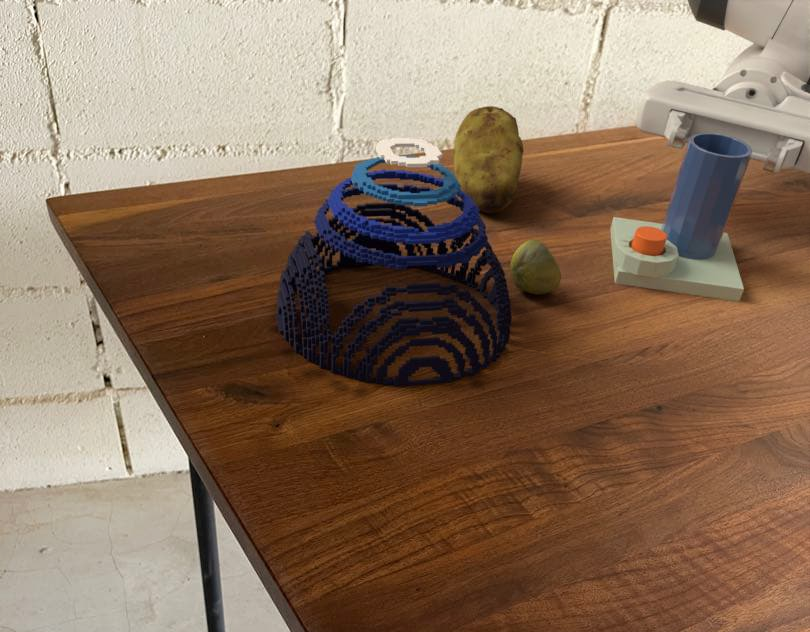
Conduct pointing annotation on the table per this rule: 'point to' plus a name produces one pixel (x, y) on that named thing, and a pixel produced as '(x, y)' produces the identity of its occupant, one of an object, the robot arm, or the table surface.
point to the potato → (488, 158)
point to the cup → (705, 193)
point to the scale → (673, 266)
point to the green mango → (535, 268)
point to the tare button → (649, 241)
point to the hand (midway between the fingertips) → (724, 151)
